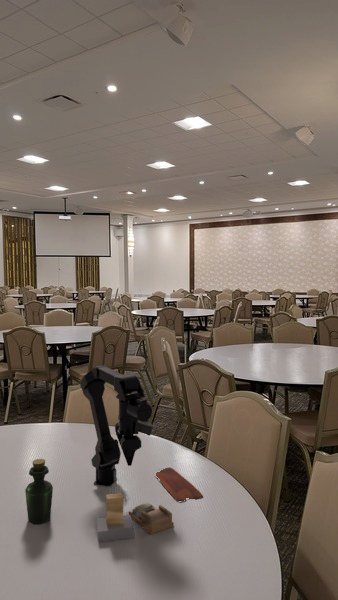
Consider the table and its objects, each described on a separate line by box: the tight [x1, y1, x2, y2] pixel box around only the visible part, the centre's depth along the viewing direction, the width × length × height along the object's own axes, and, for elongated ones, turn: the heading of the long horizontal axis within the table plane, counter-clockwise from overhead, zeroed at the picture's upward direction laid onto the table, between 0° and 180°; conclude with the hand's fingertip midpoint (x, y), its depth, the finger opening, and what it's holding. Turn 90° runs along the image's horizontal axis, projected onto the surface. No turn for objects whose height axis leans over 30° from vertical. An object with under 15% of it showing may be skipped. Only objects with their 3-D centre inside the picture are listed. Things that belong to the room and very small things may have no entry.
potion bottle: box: [24, 458, 54, 525], centre depth 137 cm, size 8×8×18 cm
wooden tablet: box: [156, 467, 204, 502], centre depth 162 cm, size 27×10×2 cm, turn 23°
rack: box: [128, 501, 175, 535], centre depth 137 cm, size 13×8×4 cm, turn 34°
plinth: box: [95, 514, 135, 543], centre depth 130 cm, size 7×10×3 cm
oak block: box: [105, 492, 124, 526], centre depth 130 cm, size 2×5×8 cm, turn 102°
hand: (127, 459), depth 150 cm, fingers open, 9 cm apart
